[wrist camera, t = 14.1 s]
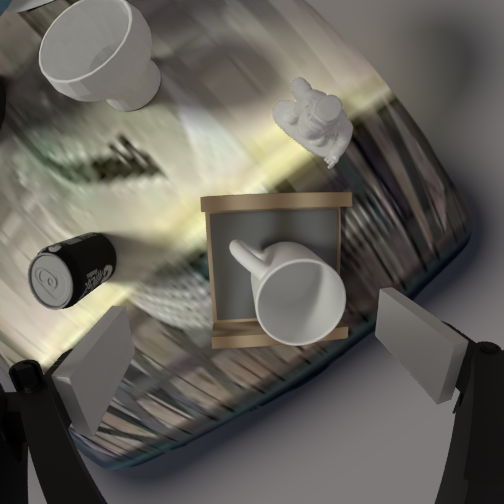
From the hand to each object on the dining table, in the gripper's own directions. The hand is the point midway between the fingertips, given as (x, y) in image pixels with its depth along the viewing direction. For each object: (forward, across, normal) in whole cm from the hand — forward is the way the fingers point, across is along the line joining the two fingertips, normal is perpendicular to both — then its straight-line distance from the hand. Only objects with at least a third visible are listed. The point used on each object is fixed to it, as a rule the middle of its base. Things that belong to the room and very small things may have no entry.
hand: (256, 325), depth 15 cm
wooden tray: (+23, +4, -3) cm, 23 cm away
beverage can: (+24, -19, -1) cm, 30 cm away
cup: (+24, -13, +21) cm, 34 cm away
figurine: (+23, +8, +13) cm, 28 cm away
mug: (+22, +4, -3) cm, 22 cm away
